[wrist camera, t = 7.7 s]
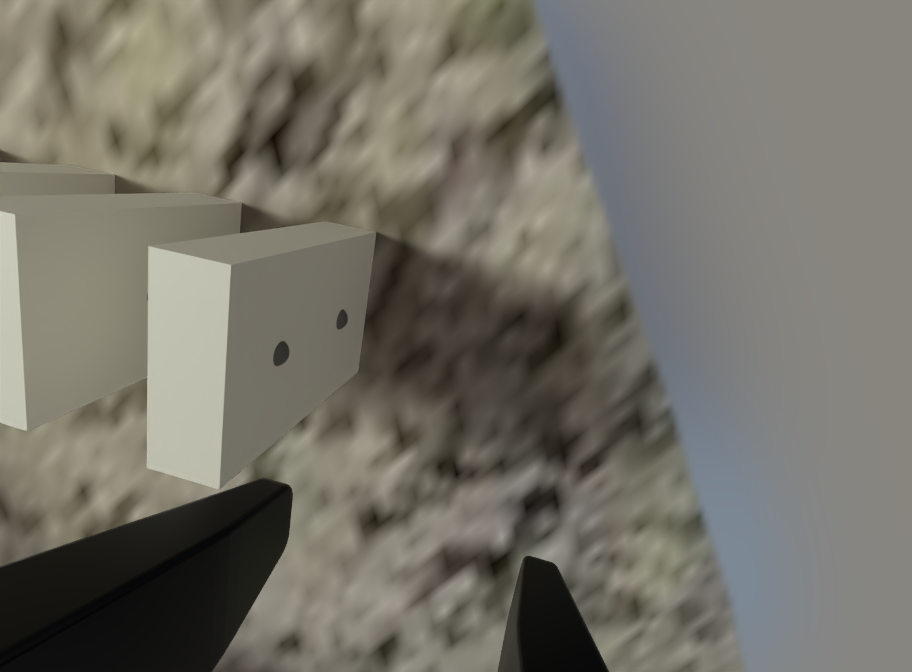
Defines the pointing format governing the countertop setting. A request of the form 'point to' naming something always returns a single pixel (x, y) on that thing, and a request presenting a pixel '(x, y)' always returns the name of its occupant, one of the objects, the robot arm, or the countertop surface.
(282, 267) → the domino
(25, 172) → the domino
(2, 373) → the domino
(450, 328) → the countertop surface
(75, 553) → the robot arm
